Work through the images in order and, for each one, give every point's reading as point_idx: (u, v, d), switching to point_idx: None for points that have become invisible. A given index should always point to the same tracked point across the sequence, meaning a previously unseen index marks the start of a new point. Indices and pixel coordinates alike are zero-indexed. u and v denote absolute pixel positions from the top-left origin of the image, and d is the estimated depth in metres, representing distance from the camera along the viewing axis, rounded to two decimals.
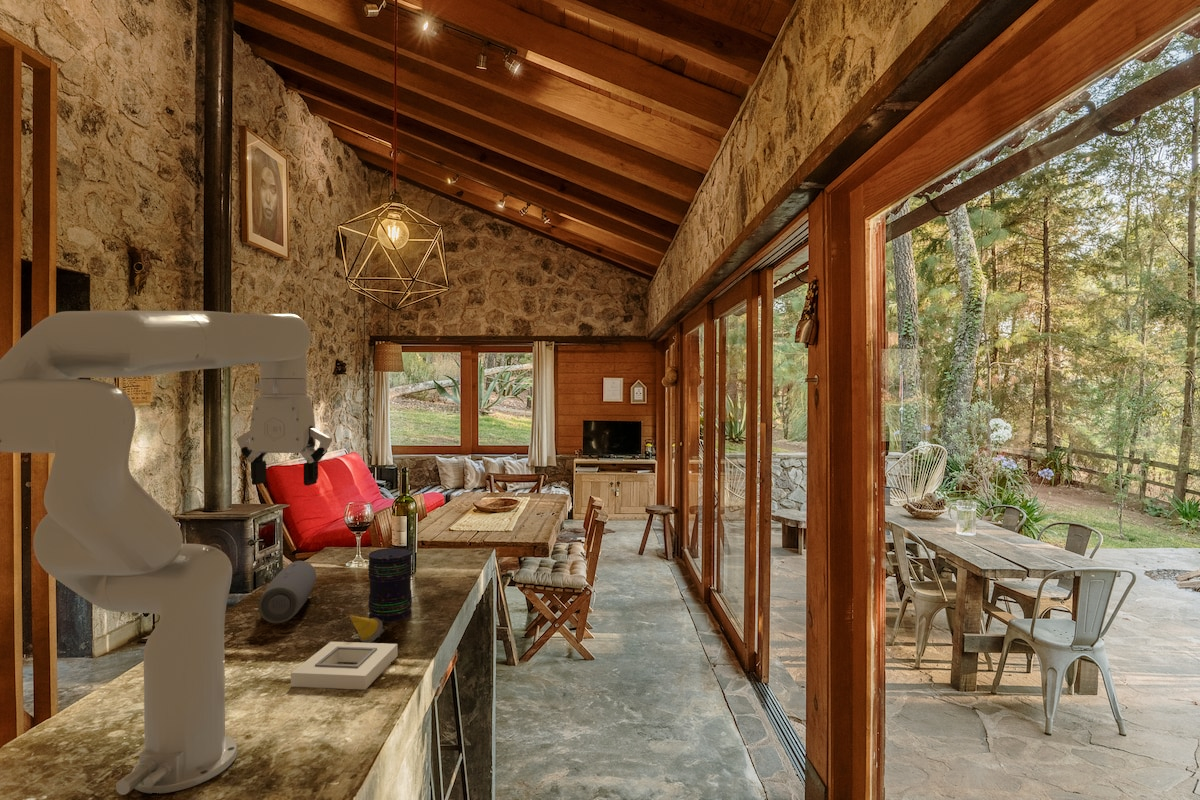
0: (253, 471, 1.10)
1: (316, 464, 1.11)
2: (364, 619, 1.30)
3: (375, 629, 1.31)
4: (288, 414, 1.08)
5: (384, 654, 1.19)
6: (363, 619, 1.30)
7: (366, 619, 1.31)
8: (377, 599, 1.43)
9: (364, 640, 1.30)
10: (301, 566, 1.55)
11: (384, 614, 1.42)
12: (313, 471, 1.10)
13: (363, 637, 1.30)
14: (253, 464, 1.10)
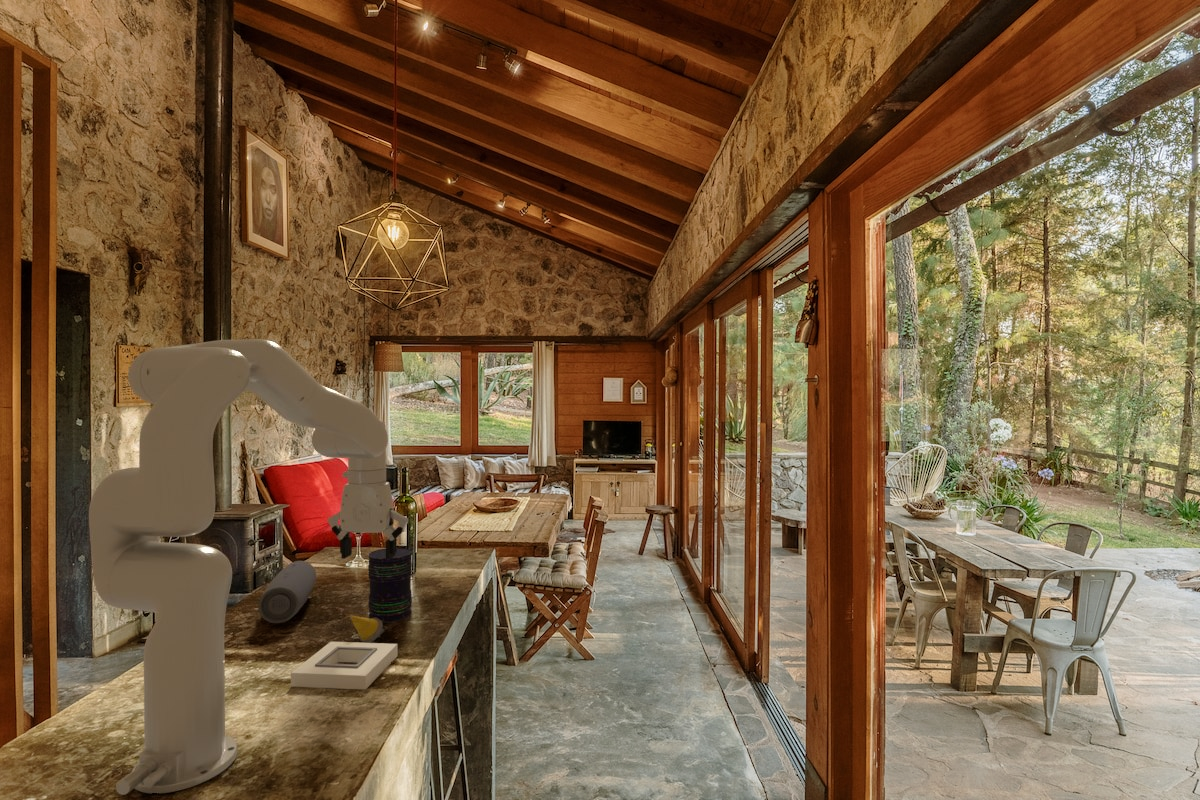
0: (342, 547, 1.30)
1: (395, 540, 1.31)
2: (364, 619, 1.30)
3: (375, 629, 1.31)
4: (373, 500, 1.28)
5: (384, 654, 1.19)
6: (363, 619, 1.30)
7: (366, 619, 1.31)
8: (377, 599, 1.43)
9: (364, 640, 1.30)
10: (301, 566, 1.55)
11: (384, 614, 1.42)
12: (393, 547, 1.30)
13: (363, 637, 1.30)
14: (342, 541, 1.30)
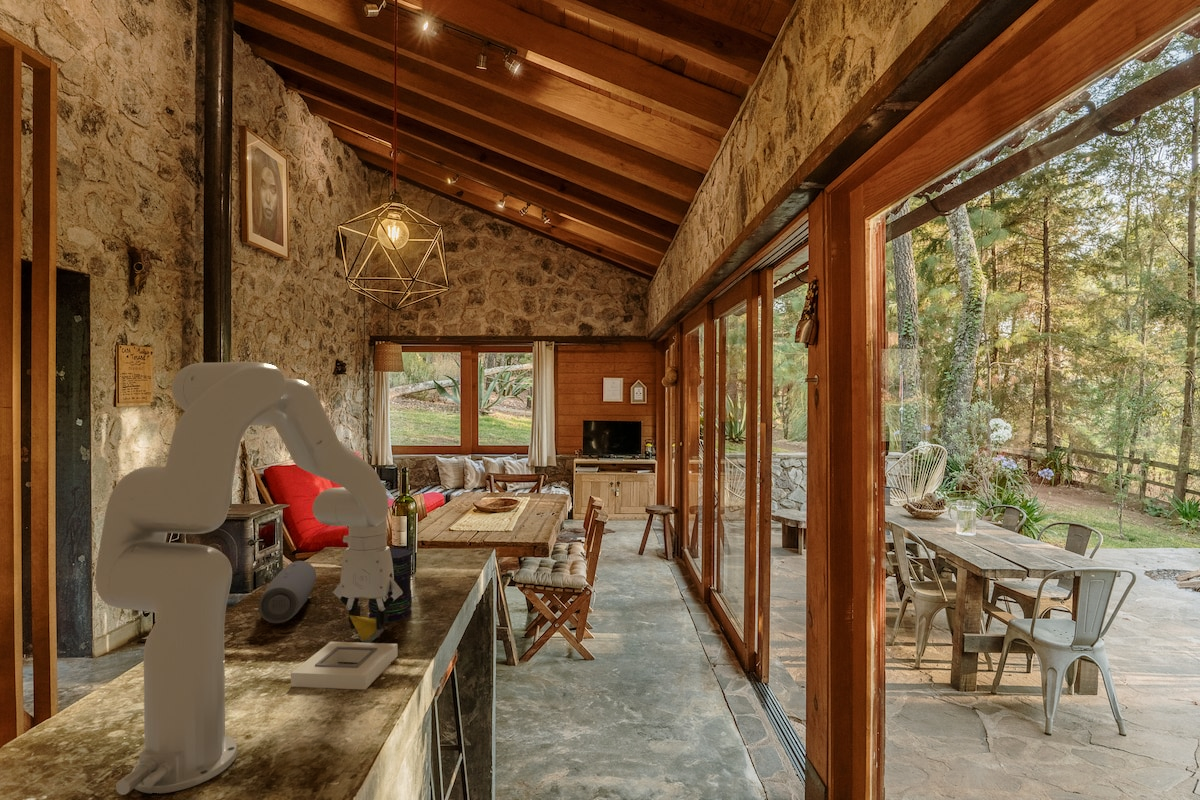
0: None
1: (386, 610, 1.31)
2: (364, 619, 1.30)
3: (375, 629, 1.31)
4: (373, 566, 1.28)
5: (384, 654, 1.19)
6: (363, 619, 1.30)
7: (366, 619, 1.31)
8: None
9: (363, 640, 1.30)
10: (301, 566, 1.55)
11: None
12: (384, 617, 1.30)
13: (363, 637, 1.30)
14: (351, 612, 1.30)
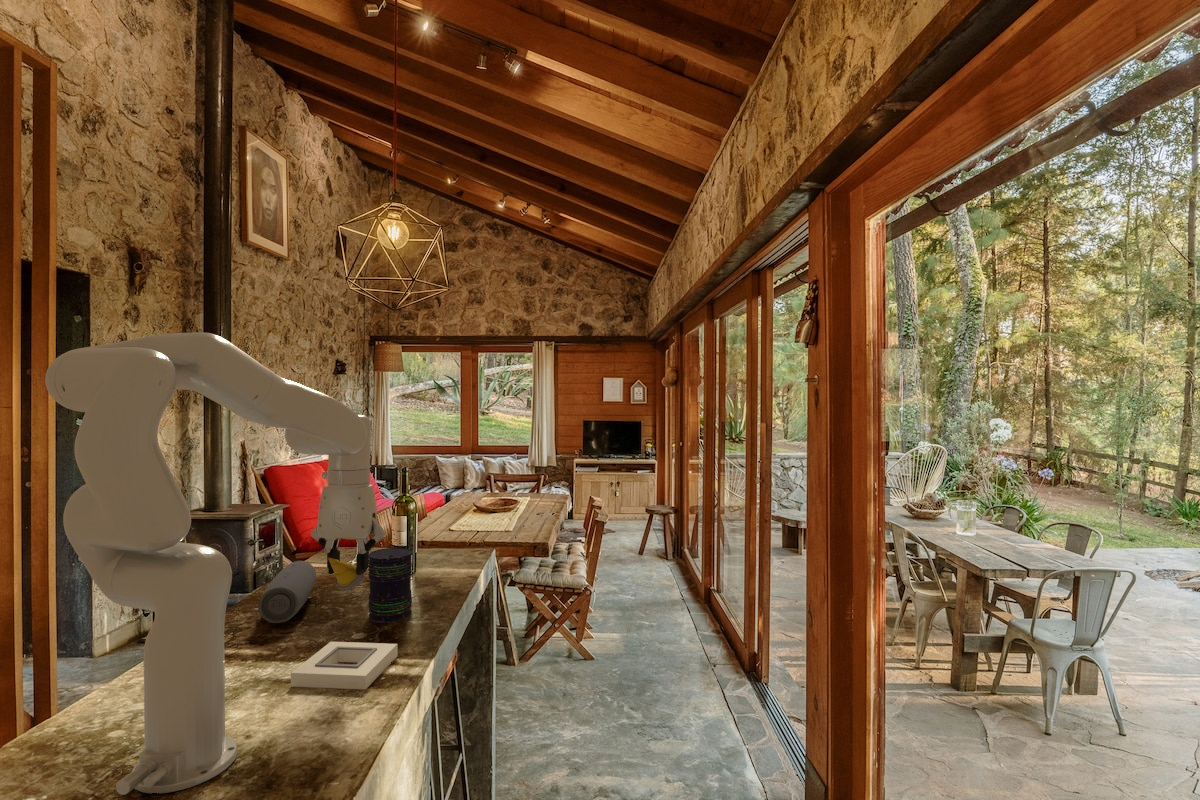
0: None
1: (367, 554, 1.19)
2: (344, 563, 1.18)
3: (356, 575, 1.19)
4: (354, 503, 1.16)
5: (384, 654, 1.19)
6: (343, 563, 1.18)
7: (346, 563, 1.19)
8: (377, 599, 1.43)
9: (342, 586, 1.18)
10: (301, 566, 1.55)
11: (384, 614, 1.42)
12: (365, 561, 1.18)
13: (342, 583, 1.18)
14: (330, 555, 1.18)
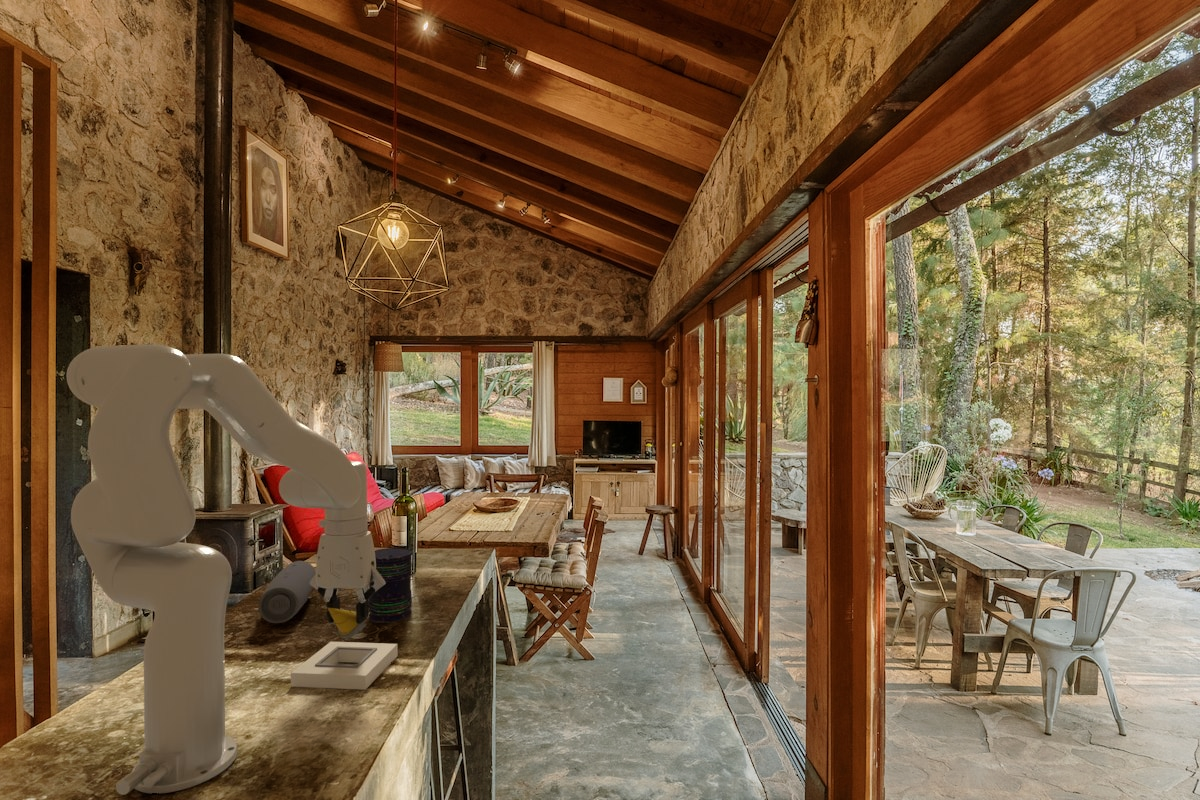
0: None
1: (367, 602, 1.18)
2: (344, 612, 1.17)
3: (356, 623, 1.18)
4: (352, 553, 1.15)
5: (384, 654, 1.19)
6: (343, 612, 1.17)
7: (346, 612, 1.18)
8: (377, 599, 1.43)
9: (343, 635, 1.18)
10: (301, 566, 1.55)
11: (384, 614, 1.42)
12: (365, 609, 1.17)
13: (342, 631, 1.17)
14: (329, 604, 1.17)
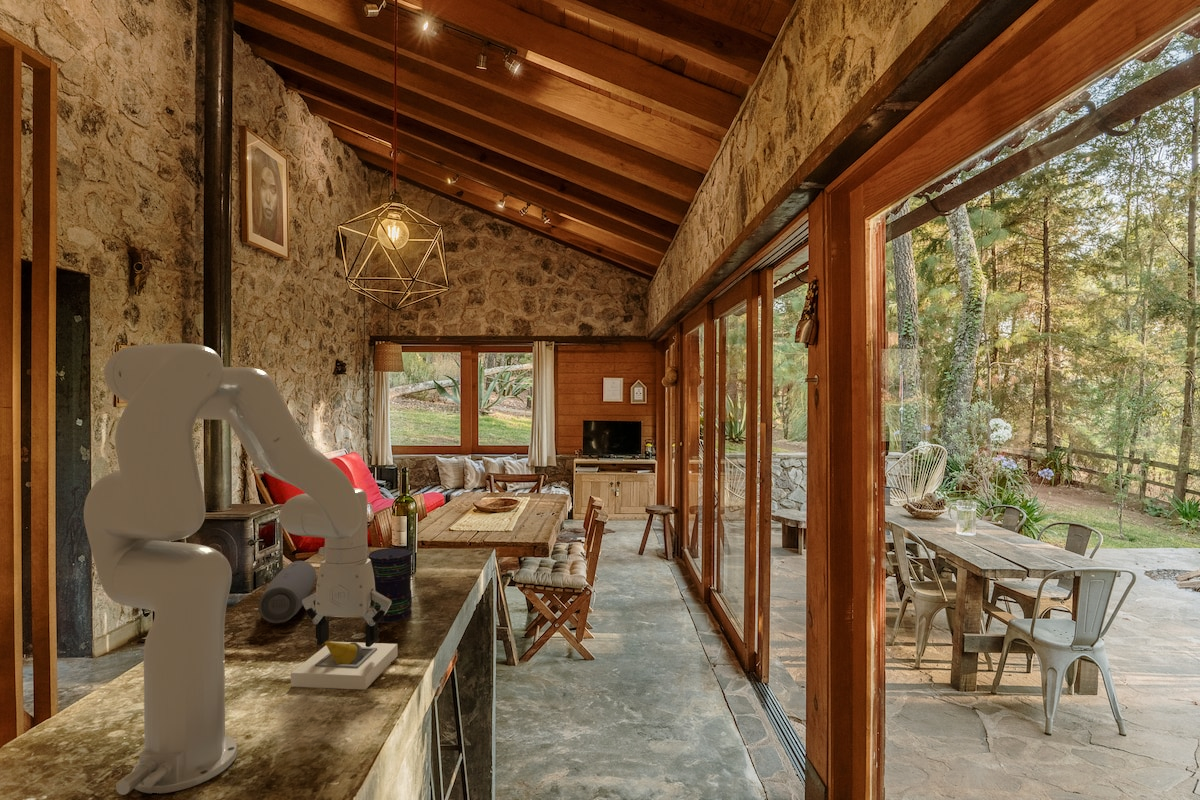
0: (318, 633, 1.17)
1: (376, 625, 1.18)
2: (341, 645, 1.17)
3: (354, 656, 1.17)
4: (352, 581, 1.15)
5: (384, 654, 1.19)
6: (340, 645, 1.17)
7: (344, 645, 1.17)
8: None
9: None
10: (301, 566, 1.55)
11: None
12: (374, 632, 1.17)
13: None
14: (318, 626, 1.17)
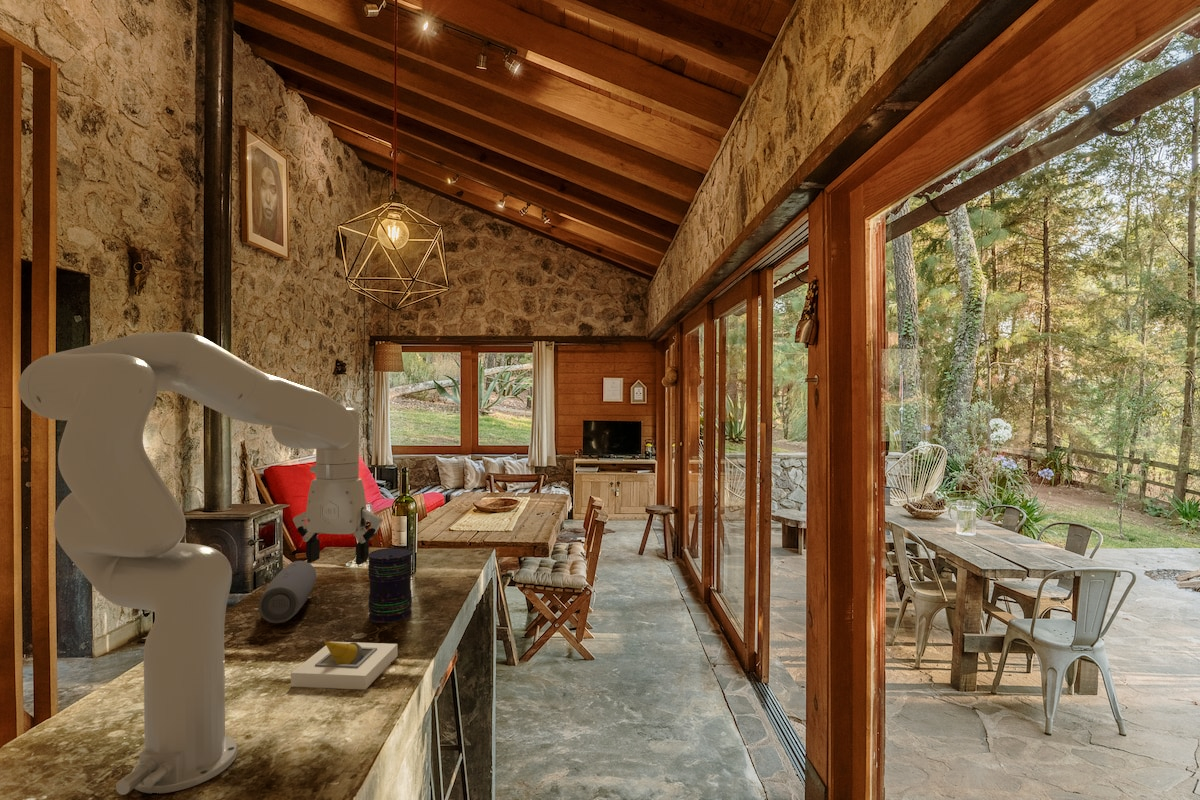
0: (308, 550, 1.16)
1: (367, 543, 1.17)
2: (341, 645, 1.17)
3: (354, 656, 1.17)
4: (342, 498, 1.15)
5: (384, 654, 1.19)
6: (340, 645, 1.17)
7: (344, 645, 1.17)
8: (377, 599, 1.43)
9: None
10: (301, 566, 1.55)
11: (384, 614, 1.42)
12: (364, 550, 1.16)
13: None
14: (308, 543, 1.16)
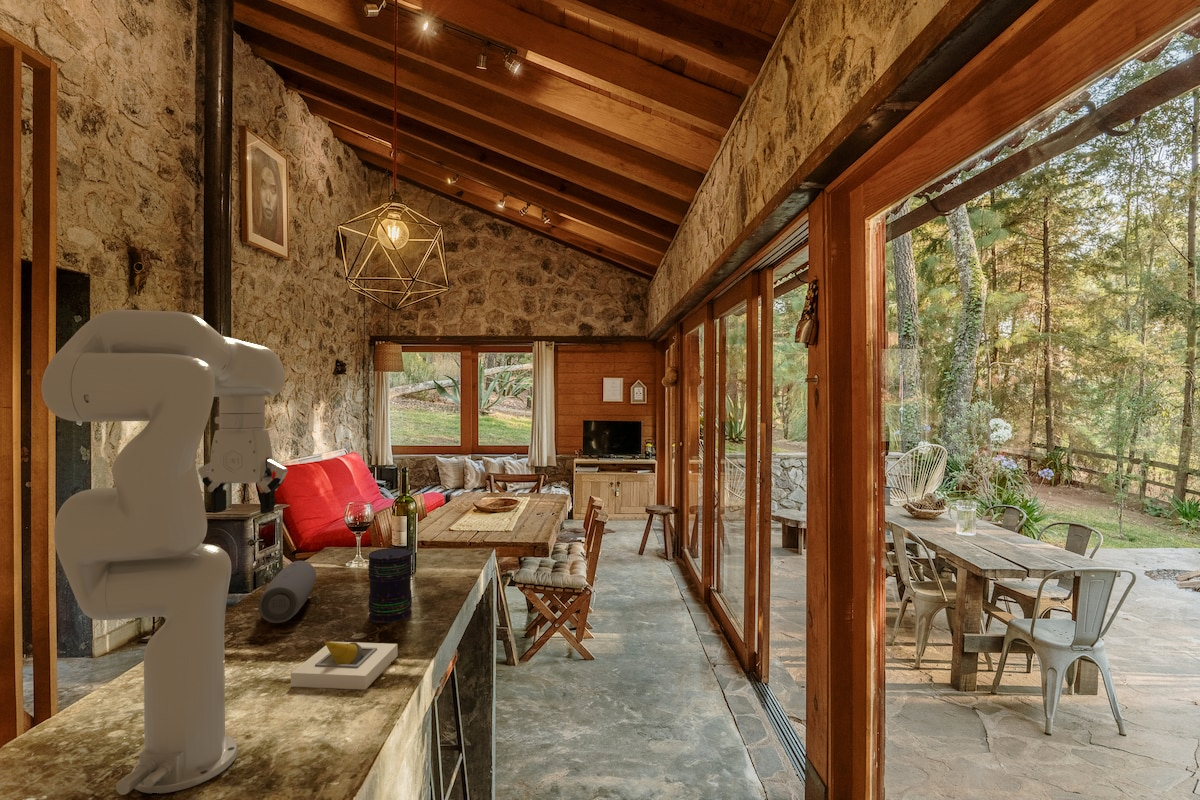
0: (213, 500, 1.17)
1: (273, 493, 1.18)
2: (341, 645, 1.17)
3: (354, 656, 1.17)
4: (245, 447, 1.15)
5: (384, 654, 1.19)
6: (340, 645, 1.17)
7: (343, 645, 1.17)
8: (377, 599, 1.43)
9: None
10: (301, 566, 1.55)
11: (384, 614, 1.42)
12: (269, 500, 1.17)
13: None
14: (213, 493, 1.17)
